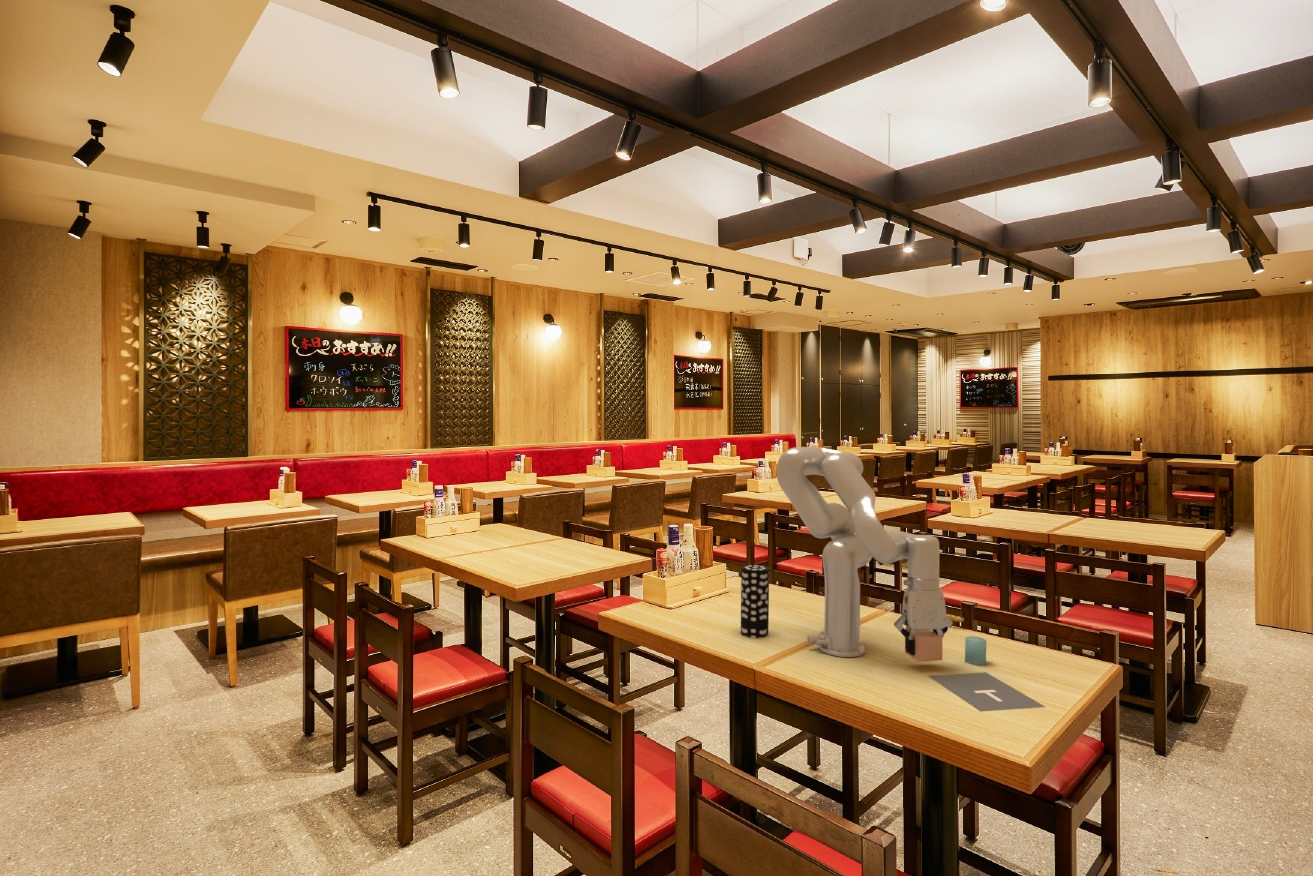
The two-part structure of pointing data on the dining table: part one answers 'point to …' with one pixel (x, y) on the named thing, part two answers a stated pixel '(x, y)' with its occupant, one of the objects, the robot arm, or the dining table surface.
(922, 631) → the block
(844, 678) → the dining table surface
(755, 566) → the spotted tube
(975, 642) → the cylinder
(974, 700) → the board
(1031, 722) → the dining table surface
